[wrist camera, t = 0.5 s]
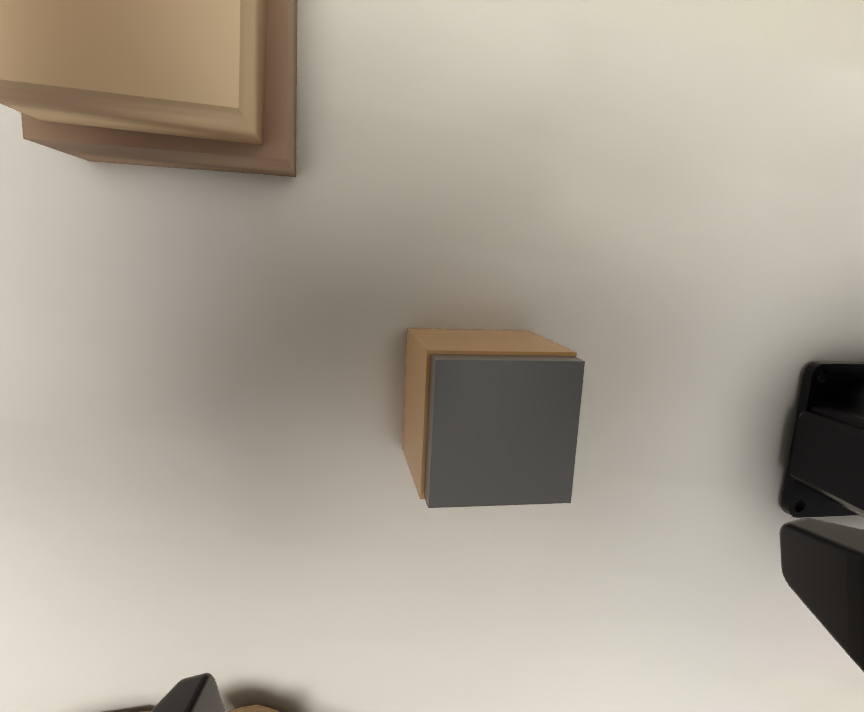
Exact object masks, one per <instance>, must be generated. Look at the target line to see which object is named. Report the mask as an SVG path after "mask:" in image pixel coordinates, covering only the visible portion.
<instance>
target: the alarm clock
mask: <svg viewBox="0 0 864 712" xmlns="http://www.w3.org/2000/svg"><path fill="white" fill-rule="evenodd" d="M141 712H150V711H141ZM229 712H279V711H277V710H275V709H272V708H269V707H265V706H261V705H250V706H245V707H240V708H237V709H234V710H232V711H229Z"/></svg>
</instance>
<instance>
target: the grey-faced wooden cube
mask: <svg viewBox="0 0 864 712" xmlns="http://www.w3.org/2000/svg"><path fill="white" fill-rule="evenodd" d="M584 364H585V361H583V360H581V359H579V358H577V357H576V352H574V351H572V350H570V349H568V348H566V347H563V346H561V345H559V344H557V343H554V342H552V341H550V340H548V339H545V338H543V337H541V336H539V335H536V334H534V333H532V332H530V331H513V330H466V329H419V328H407V350H406V376H405V402H404V428H403V451H404V454H405V457H406V460H407V463H408V466H409V468H410V471H411V474H412V477H413V480H414V483H415V485H416V488H417V491H418V494H419V497H420V499H425V500H426V503H427V506H428V508H440V507H468V506H496V505H524V504H552V503H571V495H572V485H573V475H574V464H575V454H576V444H577V434H578V424H579V414H580V404H581V394H582V384H583V374H584Z"/></svg>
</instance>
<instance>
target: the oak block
mask: <svg viewBox="0 0 864 712" xmlns="http://www.w3.org/2000/svg"><path fill="white" fill-rule="evenodd" d="M266 5H267V0H0V103H1V104H3V105H5V106H8V107H10V108H12V109H15V110H17V111H19V112H22V113H24V114H26V115H29V116H31V117H33V118H36V119H38V120H40V121H46V122H55V123H64V124H73V125H83V126H92V127H101V128H110V129H119V130H128V131H137V132H146V133H156V134H165V135H174V136H183V137H192V138H201V139H210V140H219V141H228V142H238V143H247V144H256V145H263V129H264V88H265V47H266Z"/></svg>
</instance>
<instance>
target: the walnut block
mask: <svg viewBox="0 0 864 712" xmlns="http://www.w3.org/2000/svg"><path fill="white" fill-rule="evenodd" d="M296 86H297V0H267V5H266V47H265V88H264V129H263V145H256V144H247V143H238V142H228V141H219V140H210V139H201V138H192V137H183V136H174V135H165V134H156V133H146V132H137V131H128V130H119V129H110V128H101V127H92V126H83V125H73V124H64V123H55V122H46V121H40V120H38V119H36V118H33V117H31V116H29V115H26V114H24V113H22V112H21V115H22V128H23V139H26V140H29V141H32V142H35V143H38V144H41V145H44V146H47V147H50V148H53V149H56V150H59V151H62V152H65V153H68V154H70V155H73V156H76V157H79V158H82V159H85V160H88V161H95V162H108V163H121V164H135V165H148V166H161V167H175V168H188V169H201V170H215V171H228V172H241V173H254V174H268V175H281V176H294V177H296Z"/></svg>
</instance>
